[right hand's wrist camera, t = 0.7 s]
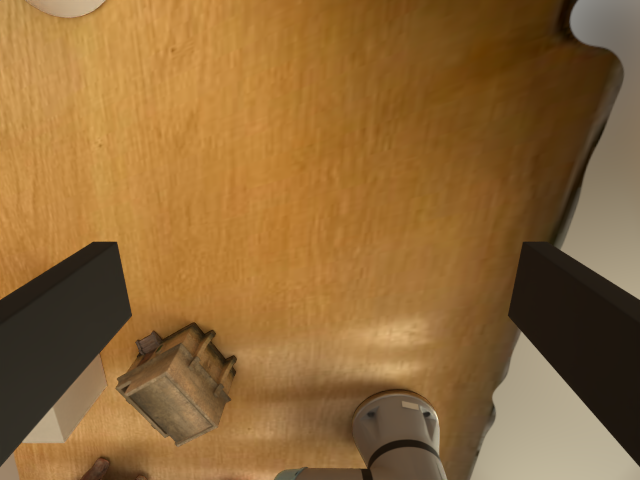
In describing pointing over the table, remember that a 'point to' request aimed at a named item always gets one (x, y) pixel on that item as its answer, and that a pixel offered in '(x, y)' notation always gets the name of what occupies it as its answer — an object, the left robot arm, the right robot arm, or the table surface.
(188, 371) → the miniature house
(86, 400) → the box
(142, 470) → the table surface
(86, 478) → the sculpture
